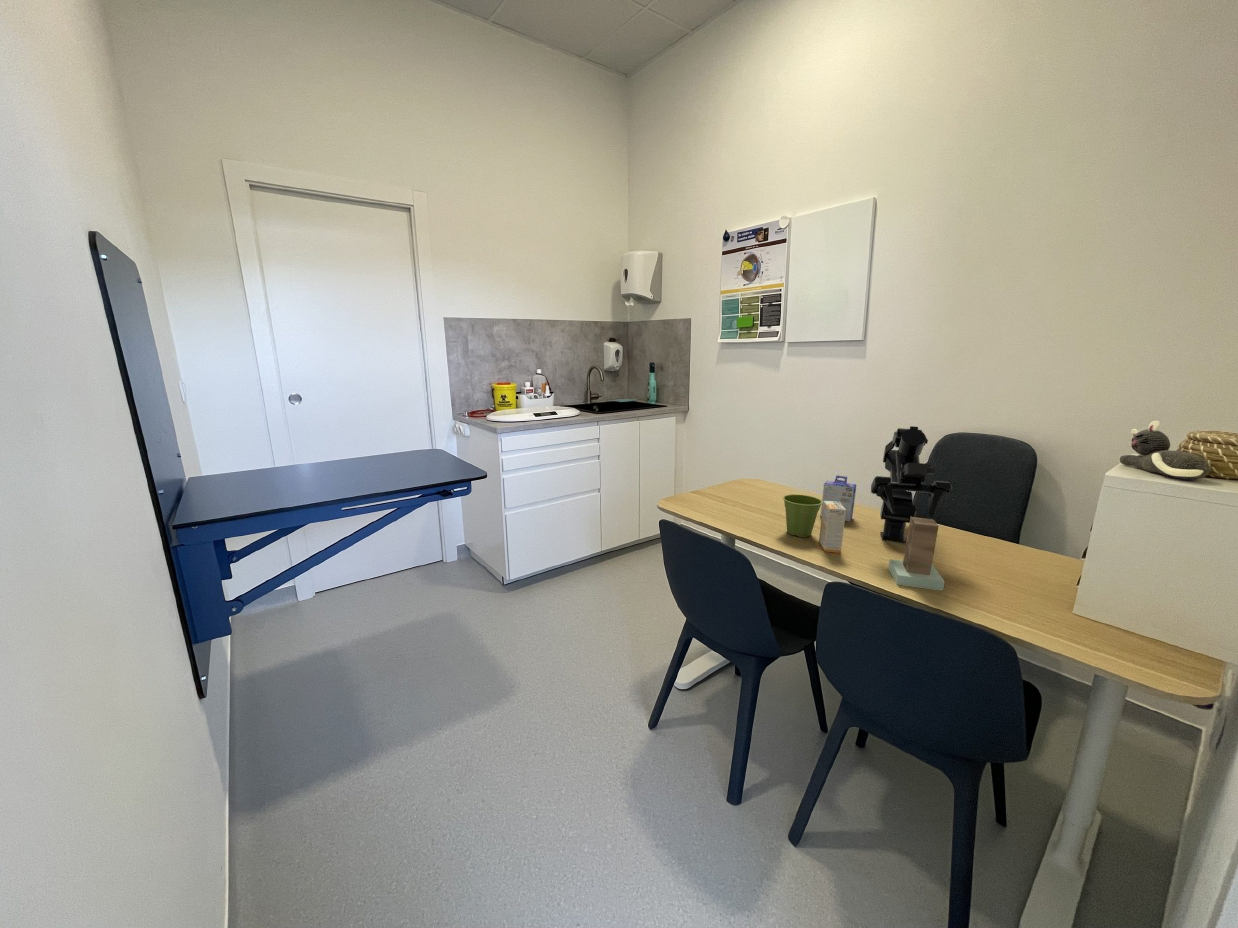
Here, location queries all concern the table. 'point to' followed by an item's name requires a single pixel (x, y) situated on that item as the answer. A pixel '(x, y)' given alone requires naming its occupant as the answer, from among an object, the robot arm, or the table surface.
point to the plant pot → (801, 513)
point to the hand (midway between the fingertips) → (912, 515)
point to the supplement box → (832, 526)
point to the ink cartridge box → (840, 494)
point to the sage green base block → (915, 577)
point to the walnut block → (920, 545)
